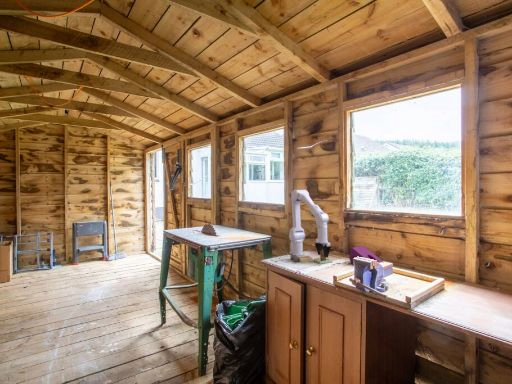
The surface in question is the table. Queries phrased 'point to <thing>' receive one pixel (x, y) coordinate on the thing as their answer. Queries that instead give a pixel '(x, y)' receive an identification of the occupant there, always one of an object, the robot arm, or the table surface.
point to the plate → (305, 258)
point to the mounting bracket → (362, 254)
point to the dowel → (322, 256)
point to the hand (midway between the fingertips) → (323, 256)
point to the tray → (322, 261)
